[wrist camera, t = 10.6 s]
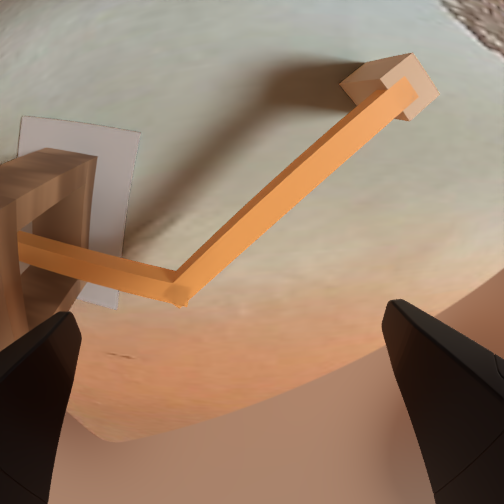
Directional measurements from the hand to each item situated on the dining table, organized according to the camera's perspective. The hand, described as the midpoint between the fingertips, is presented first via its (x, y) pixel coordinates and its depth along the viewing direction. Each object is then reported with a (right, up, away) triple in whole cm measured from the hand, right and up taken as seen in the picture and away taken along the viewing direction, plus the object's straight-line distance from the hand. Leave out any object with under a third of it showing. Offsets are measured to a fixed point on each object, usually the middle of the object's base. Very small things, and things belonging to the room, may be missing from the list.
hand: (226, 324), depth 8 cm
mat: (-12, +4, +11) cm, 16 cm away
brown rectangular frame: (-12, +4, +10) cm, 16 cm away
